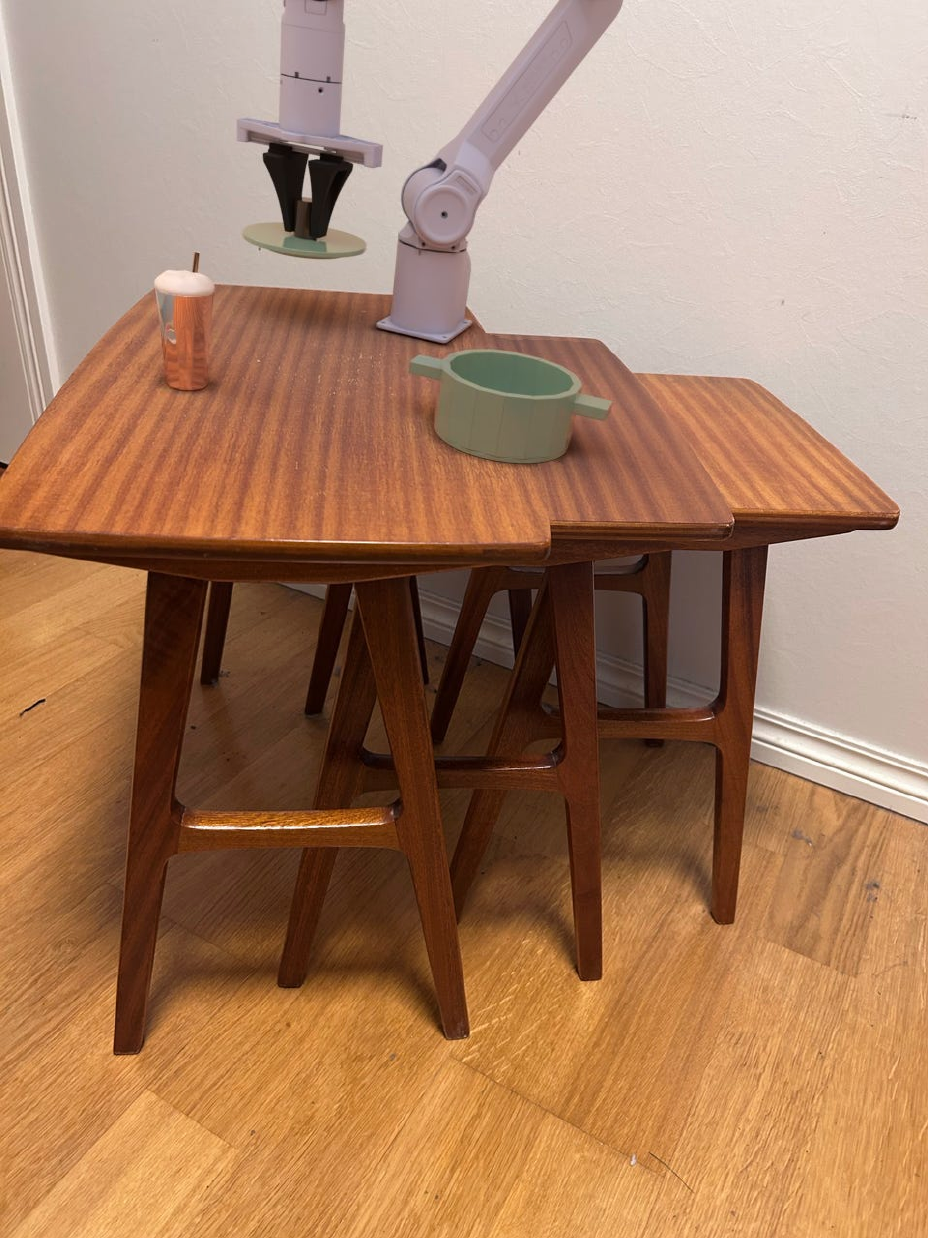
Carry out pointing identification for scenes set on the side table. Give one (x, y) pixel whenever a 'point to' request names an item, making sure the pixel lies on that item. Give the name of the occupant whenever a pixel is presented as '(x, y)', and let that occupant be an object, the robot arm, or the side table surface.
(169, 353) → the milkshake
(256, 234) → the pot lid
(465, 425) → the green cooking pot
